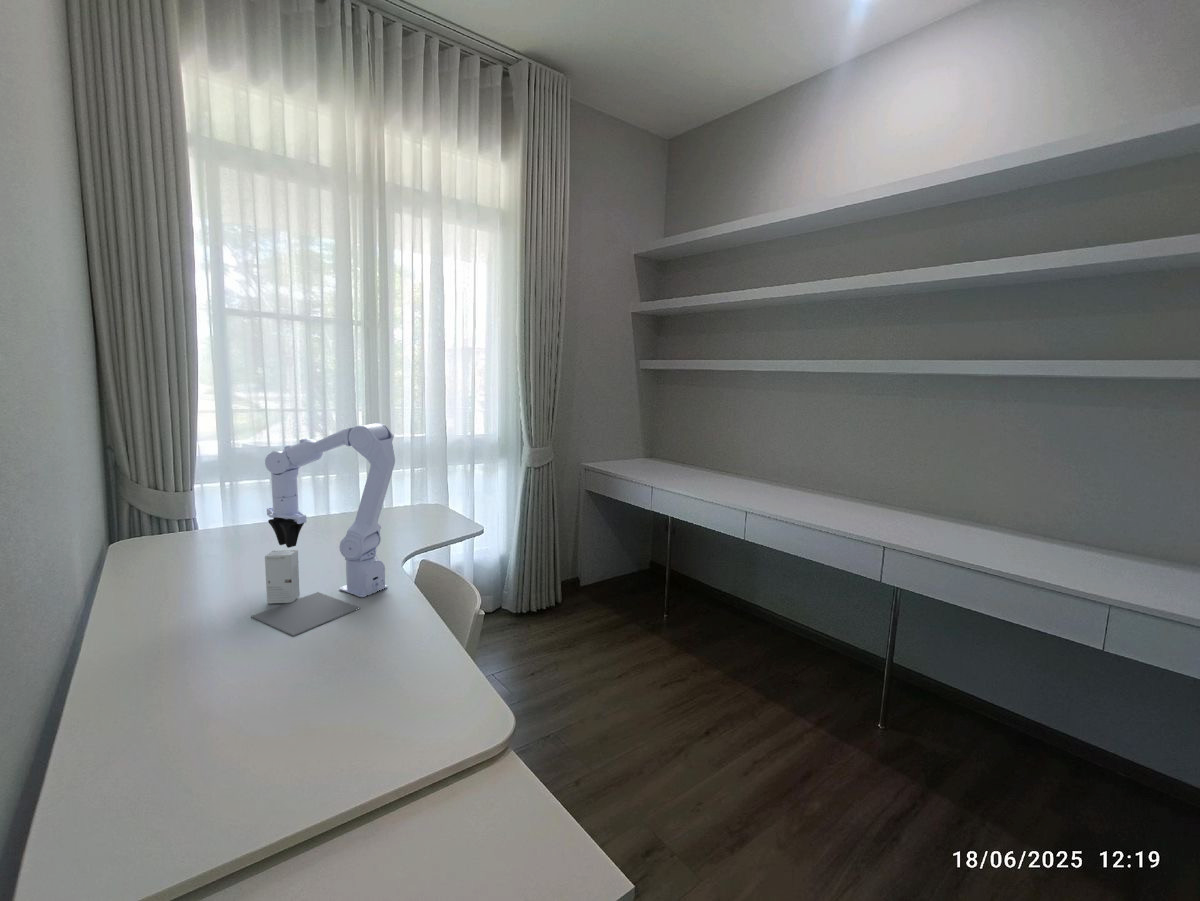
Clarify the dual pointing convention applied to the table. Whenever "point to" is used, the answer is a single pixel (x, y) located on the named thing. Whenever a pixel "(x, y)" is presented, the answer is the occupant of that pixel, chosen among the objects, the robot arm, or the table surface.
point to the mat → (304, 613)
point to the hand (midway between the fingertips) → (287, 545)
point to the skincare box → (282, 576)
